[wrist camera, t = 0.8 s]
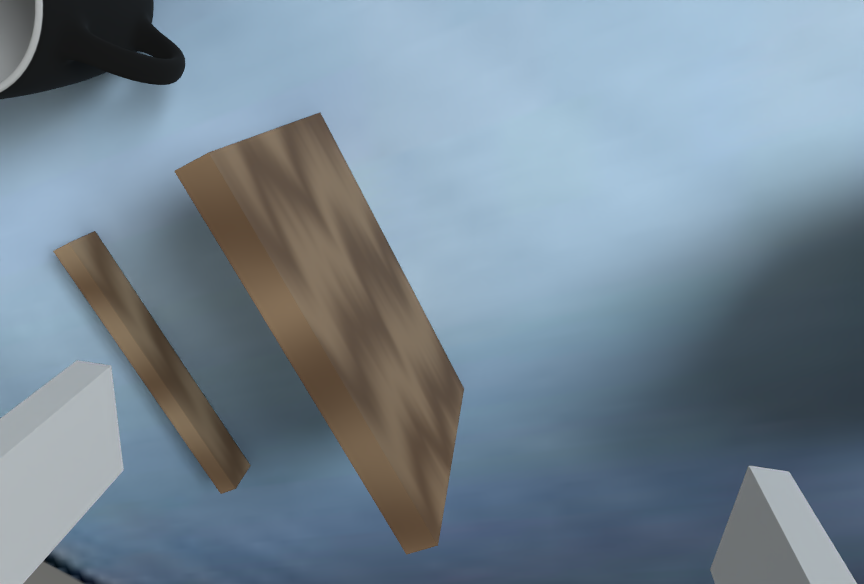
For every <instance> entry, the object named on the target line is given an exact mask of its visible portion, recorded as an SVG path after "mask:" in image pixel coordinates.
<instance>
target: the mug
mask: <svg viewBox="0 0 864 584" xmlns="http://www.w3.org/2000/svg"><path fill="white" fill-rule="evenodd" d="M152 18H153V0H0V99H5V98H11V97H17V96H23V95H28V94H34V93H38V92H43V91H47V90H51V89H56V88H59V87H63V86H67V85H71V84H74V83H78V82H81V81H84V80H87V79H90V78H93V77H96V76H98V75H101V74H103V73H105V72H109V73H111V74H114V75H117V76H120V77H123V78H127V79H130V80H134V81H138V82H143V83H148V84H156V85H167V84H171V83H174V82H176V81H177V80H178V79H179V78H180V77H181V76H182V74H183V72H184V69H185V58H184V55H183V53H182V51H181V50H180V49H179V48H178V47H177V46H176V45H175V44H174V43H173V42H172V41H171V40H169V39H168V38H167V37H165V36H164V35H163V34H162V33H160V32H159V31H158V30H157V29H156V28H155V27H154V26H153V25H152V24H151V23H152ZM137 51H140V52H144V53H147V54H149V55H151V56H153V57H151V56H147V55H143V54H140V53H137Z"/></svg>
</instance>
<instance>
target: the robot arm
mask: <svg viewBox="0 0 864 584" xmlns="http://www.w3.org/2000/svg"><path fill="white" fill-rule="evenodd" d="M122 471H123V461H122V453H121V444H120V436H119V428H118V419H117V411H116V402H115V394H114V385H113V377H112V368H111V366H110V365H104V364H97V363H91V362H85V361H78V360H77V361H75V362H74V363H73V364H71V365H70V366H69V367H67V368H66V369H65V370H63V371H62V372H61V373H60V374H58V375H57V376H56V377H54V378H53V379H52V380H50V381H49V382H48V383H46V384H45V385H44V386H42V387H41V388H40V389H38V390H37V391H36V392H35V393H33V394H32V395H31V396H29V397H28V398H27V399H25V400H24V401H23V402H21V403H20V404H19V405H17V406H16V407H15V408H13V409H12V410H11V411H10V412H8V413H7V414H6V415H4V416H3V417H2V418H0V584H23V583H24V582H25V581H26V580H27V579H28V577H29V576H30V575H31V574H32V573H33V572H34V570H35V569H36V568H37V567H38V566H39V565H40V564H41V563H42V562H43V561H44V559H45V558H46V557H47V556H48V555H49V554H50V553H51V552H52V550H53V549H54V548H55V547H56V546H57V545H58V544H59V543H60V541H61V540H62V539H63V538H64V537H65V536H66V535H67V533H68V532H69V531H70V530H71V529H72V528H73V527H74V526H75V524H76V523H77V522H78V521H79V520H80V519H81V518H82V517H83V515H84V514H85V513H86V512H87V511H88V510H89V509H90V508H91V506H92V505H93V504H94V503H95V502H96V501H97V500H98V499H99V497H100V496H101V495H102V494H103V493H104V492H105V491H106V489H107V488H108V487H109V486H110V485H111V484H112V483H113V482H114V480H115V479H116V478H117V477H118V476H119V475H120V474H121V473H122ZM710 570H711V573H712V576H713V579H714V582H715V584H857V583H856V581H855V580H854V578H853V577H852V575H851V573H850V572H849V570H848V568H847V567H846V565H845V563H844V562H843V560H842V558H841V557H840V555H839V553H838V552H837V550H836V548H835V547H834V545H833V543H832V542H831V540H830V539H829V537H828V535H827V534H826V532H825V530H824V529H823V527H822V525H821V524H820V522H819V520H818V519H817V517H816V515H815V514H814V512H813V510H812V509H811V507H810V505H809V504H808V502H807V500H806V499H805V497H804V496H803V494H802V492H801V491H800V489H799V487H798V486H797V484H796V482H795V481H794V479H793V477H792V476H791V474H790V472H788V471H781V470H775V469H768V468H762V467H756V466H748V469H747V471H746V474H745V477H744V480H743V482H742V485H741V488H740V490H739V493H738V496H737V499H736V501H735V504H734V507H733V509H732V512H731V515H730V518H729V520H728V523H727V526H726V528H725V531H724V534H723V536H722V539H721V542H720V545H719V547H718V550H717V553H716V555H715V558H714V561H713V564H712V566H711V569H710Z"/></svg>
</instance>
